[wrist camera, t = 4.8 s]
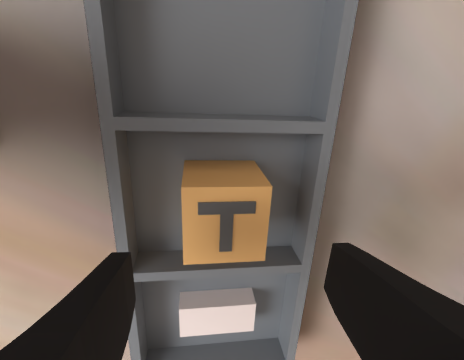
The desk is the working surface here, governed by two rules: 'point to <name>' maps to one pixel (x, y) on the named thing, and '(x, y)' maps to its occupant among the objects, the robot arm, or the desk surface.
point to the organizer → (217, 149)
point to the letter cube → (224, 211)
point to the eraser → (216, 311)
